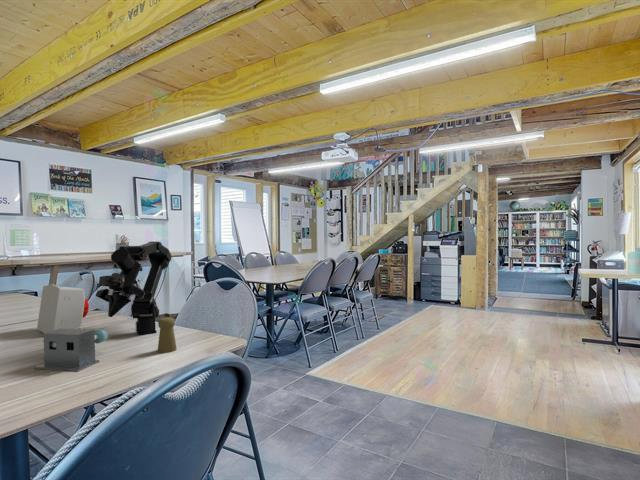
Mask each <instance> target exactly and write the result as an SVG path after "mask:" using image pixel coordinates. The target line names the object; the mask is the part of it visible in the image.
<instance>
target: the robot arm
mask: <svg viewBox="0 0 640 480" xmlns="http://www.w3.org/2000/svg"><path fill="white" fill-rule="evenodd" d="M147 258H148V261H149V263H150V269H149V271H148V274H147V277H146V280H145V283H144V285H143V288H140V287H138V286H136V285H137V283H138V281H137V277H138V275H139V273H140V272H143V267H142V264H141V263H139V262H141V261H142V262H144V261H145V260H147ZM110 260H111V261H112V262H113V263H114V265H115V266H116V267H117V268H118V269H119V270H120V272H114V273H113V272H112V273H111V275H110V274H109V275H101V276H99V279H98V287H108V288H102V289H99V290H97V291H96V293H95V297H97V298H99V299H101V300H102V301H105V302H107V303H108V313H107V316H108V318H109V317H110V318H113V317H114V316H115V315H116V314H118V312H119V311H121V310H122V308H124V307H125V306H127V305H128V304H129V303H130V302H132V304H131V306H130V311H131V315H132V319H136V321H135V332H136V334H137V335H138V336H141V335H150V334H154V333H157V330H156V318H159V316H160V309H159V308H158V305H157V302H156V299H155V296H156V292H157V289H158V286H159V282H160V279H161V276H162V273H163V270H165V269H166V268H167V267H169V265H170V262H171V261H172V254H171V252H170V249H169V248H167V247H166V246H164V245H163V244H162V242H161V241H148V242H147V243H144V244H141V245H127V246H119V248H118V249H116V250H115V251H113V253H111V255H110ZM133 296H134V299H133V300H132V299H131V297H133Z"/></svg>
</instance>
